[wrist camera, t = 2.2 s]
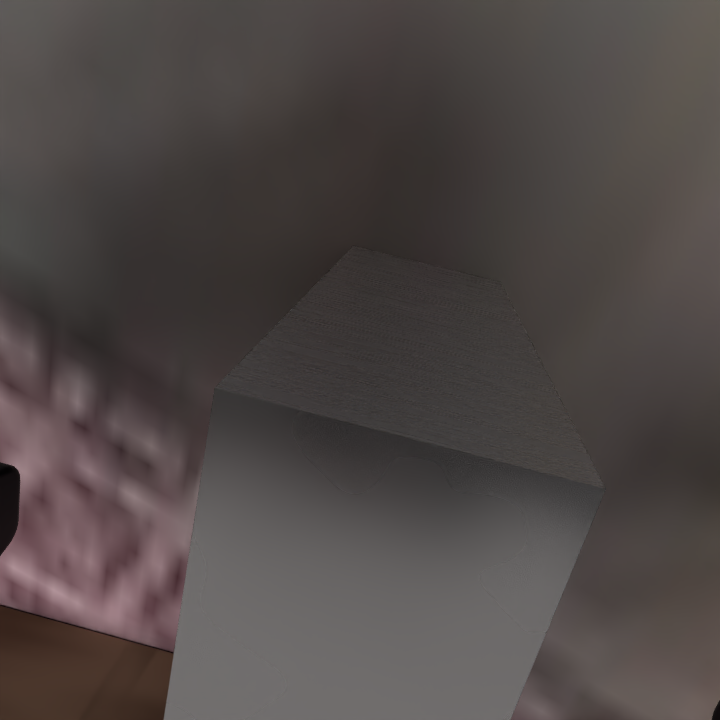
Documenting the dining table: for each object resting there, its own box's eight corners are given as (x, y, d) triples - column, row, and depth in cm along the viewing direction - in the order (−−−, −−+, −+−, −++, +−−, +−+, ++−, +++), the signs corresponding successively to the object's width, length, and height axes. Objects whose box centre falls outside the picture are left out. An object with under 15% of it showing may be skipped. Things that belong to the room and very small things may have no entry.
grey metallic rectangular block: (500, 281, 12) (605, 489, 4) (423, 532, 14) (407, 969, 6) (352, 245, 12) (214, 387, 5) (297, 499, 14) (138, 888, 7)
